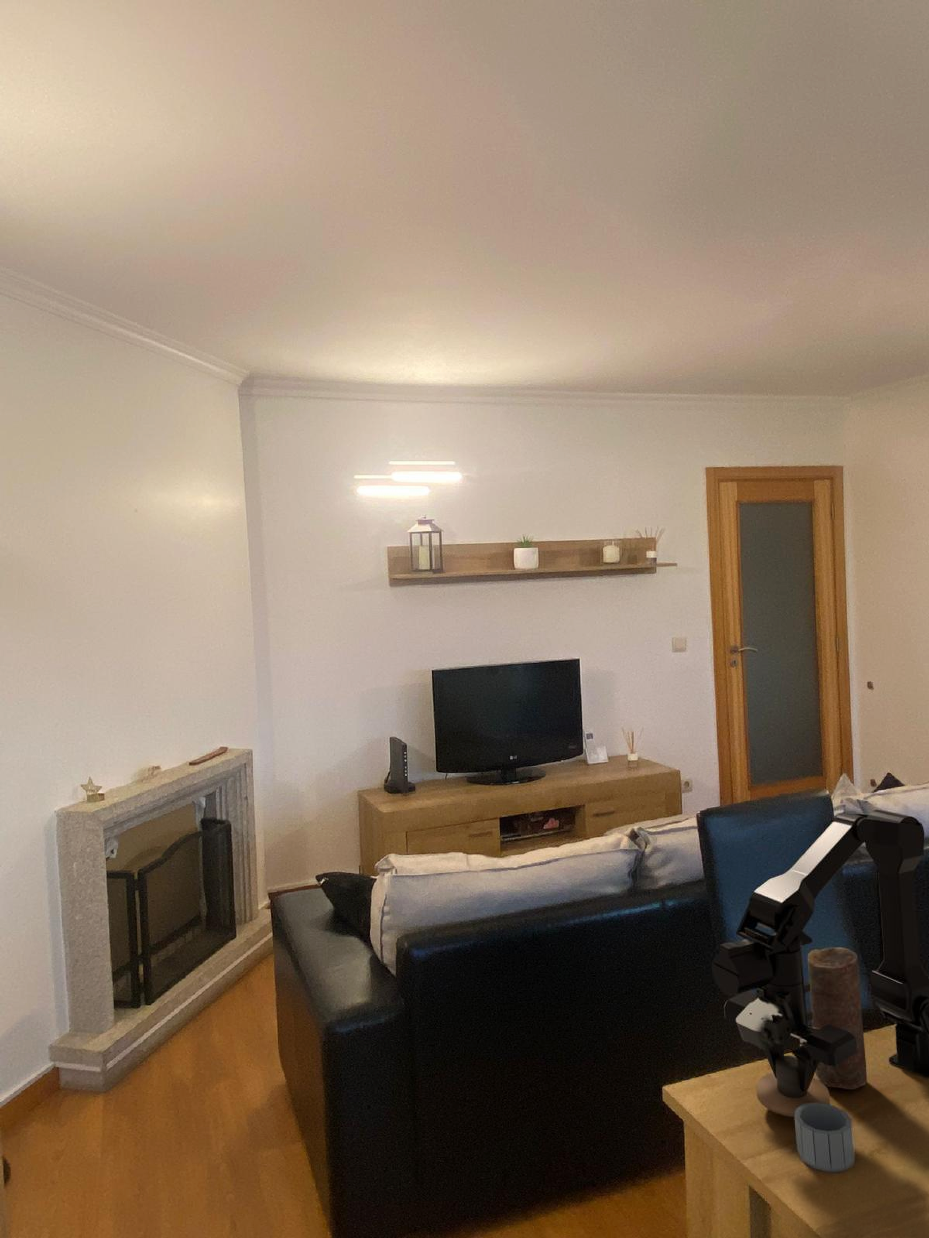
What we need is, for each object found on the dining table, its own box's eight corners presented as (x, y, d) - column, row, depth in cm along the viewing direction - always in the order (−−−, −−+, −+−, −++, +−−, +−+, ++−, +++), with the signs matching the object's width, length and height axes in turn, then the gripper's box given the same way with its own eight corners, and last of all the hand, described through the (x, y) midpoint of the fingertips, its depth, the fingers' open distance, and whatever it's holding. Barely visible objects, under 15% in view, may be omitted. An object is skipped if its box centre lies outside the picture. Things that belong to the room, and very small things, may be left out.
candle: (874, 1098, 125) (862, 963, 125) (821, 1096, 126) (810, 963, 126) (860, 1070, 132) (850, 943, 132) (811, 1069, 134) (800, 943, 134)
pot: (818, 1132, 118) (815, 1096, 118) (865, 1156, 112) (862, 1119, 112) (786, 1152, 114) (783, 1116, 114) (833, 1179, 108) (830, 1140, 108)
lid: (782, 1070, 130) (779, 1038, 130) (844, 1097, 122) (841, 1062, 122) (742, 1096, 124) (739, 1062, 124) (804, 1126, 116) (801, 1090, 116)
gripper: (695, 974, 126) (704, 1077, 126) (804, 1018, 111) (814, 1136, 111) (744, 952, 132) (752, 1051, 132) (854, 991, 117) (864, 1104, 117)
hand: (791, 1084), depth 123 cm, fingers closed on lid, 4 cm apart
